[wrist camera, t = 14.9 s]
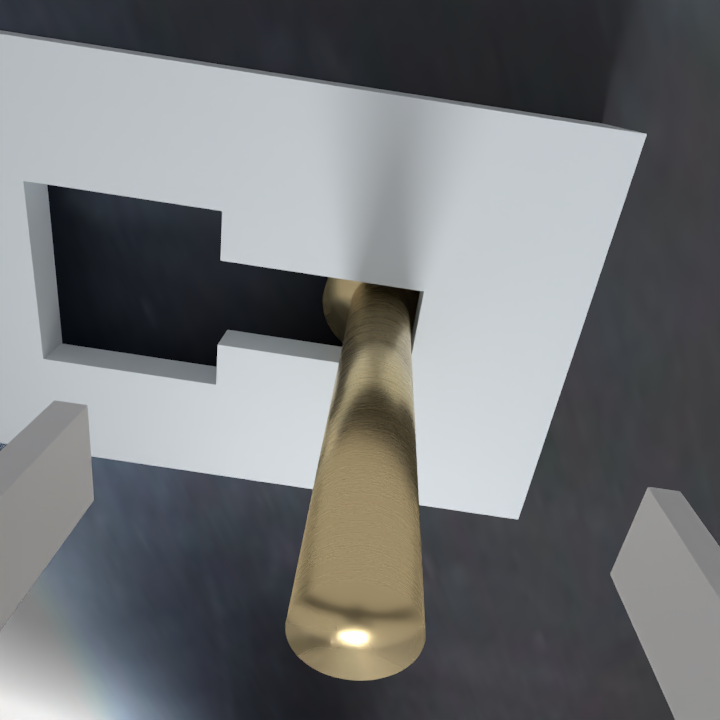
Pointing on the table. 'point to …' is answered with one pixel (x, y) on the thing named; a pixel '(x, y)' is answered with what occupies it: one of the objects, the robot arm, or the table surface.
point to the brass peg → (364, 498)
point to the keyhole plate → (310, 257)
